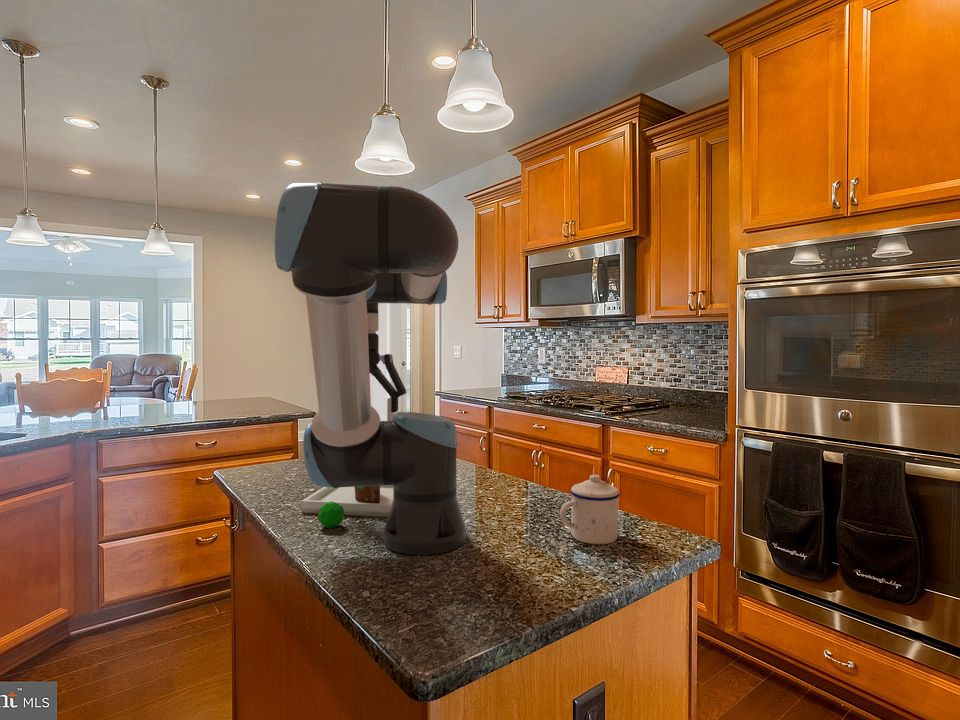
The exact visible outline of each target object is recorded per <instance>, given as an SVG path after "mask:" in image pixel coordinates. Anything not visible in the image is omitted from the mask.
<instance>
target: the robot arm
mask: <svg viewBox="0 0 960 720" xmlns="http://www.w3.org/2000/svg"><path fill="white" fill-rule="evenodd" d="M274 226H275V230H274V257H275V258H274V259H275V263H276V267H277V269H278V270H279V271H282V272H284V273H289V272H291V278H292V284H293V286H294V287H295V289H296V290H297V291H298V292H300V293H302V294H303V295H305V301H306V308H307V310H306V311H307V318H308V324H309V325H308V326H309V327H308V328H309V334H310V343H311V352H312V362H313V369H314V380H315V386H316V387H315V388H316V395H317V404H318V411H317V412H316V413H315V415H313V417H312V420H311V422H309V423H308V424H306V427H305V428H304V432H303V443H302V449H303V454H304V457H303V459H304V460H303V461H304V465H305V470H306V473H307V476H308V478H309V480H310V482H312V484H313V485H315V486H316V487H320V488H323V487H333V488H340V487H359V486H383V485H384V486H385V485H393V502H392V505H391V508H390V512H389V515H388V517H386V518H387V519H386V520H385V524H384V527H383V544H384V546H385V547H386V548H387V549H390V550H391V551H393V552H397V553H401V554H405V555H411V556H428V555H429V556H431V555H438V554H439V555H440V554H443V553H448V552H451V551H454V550H456V549H458V548H460V547H461V546H463V544H465V542H466V540H467V539H466V538H467V537H466V536H467V531H466V530H467V528H466V523H465V521H464V517H463V514H462V511H461V508H460V505H459V502H458V499H457V482H458V481H457V448H458V447H459V445H458V444H459V443H458V438H457V427H456V424H455V422H454V421H452V420H451V419H449V418H448V417H447V418H446V417H444V416H440V415H435V414H429V413H423V412H413V411H399V398H400V397H401V396H405V395H406V394H407V390H406V387H405V385H404V384H403V381H402V379H401V377H400V375H399V372H398V371H397V368H396V366H395V364H394V359H393V358H394V357H393V355H392V353H386V354H383V355H380V352H379V349H380V348H379V344H380V343H379V342H380V341H379V334H378V333H377V332H378V331H379V320H380V319H379V314H380V313H379V304H411V305H412V304H414V305H415V304H417V305H428V306H429V305H430V306H431V305H440V304H441V305H442V304H444V303H445V302H446V300H447V294H448V276H447V270H449V268H450V267H451V266H452V264H453V263H454V261H455V259H456V257H457V254H458V250H459V236H458V235H459V234H458V231H457V229H456V225H455V224H454V222H453V220H452V219H451V217H450V216H449V215H448V214H447V212H446V211H445V210H444V209H443V208H442V207H440V205H438V204H437V203H436V202H434V200H432V199H431V198H429V197H427V196H426V195H424V194H422V193H421V192H420V193H419V192H417V191H415V190H413V189H410V188H406V187H401V186H391V185H390V186H383V185H381V186H380V185H368V184H367V185H364V184H363V185H362V184H346V183H345V184H343V183H331V182H330V183H329V182H327V183H326V182H322V181H317V182H294V183H291V184H289V185H288V186H286V187H285V188H284V190H283V192H282V193H281V196H280V198H279V203H278V206H277V212H276V219H275V225H274ZM380 361H381V363H382V364H383V365H385V368H386V371H387V373H388V375H389V377H390V379H391V381H392V383H393V385H392V383H391V382H390V381H389V380H388V378H387V377H386V376H385V375H384V374H383V372H382V370H381V368H380V367H378V365H379V363H380ZM371 375H372V376H373V377H374V378H375V380H377V382H378V383H379V384H380V386H381V387H382V388H383V389H384V390H385V392H386V393H387V395H388V396H389V397H387V400H386V403H387V404H386V405H387V406H386V408H387V409H386V416H387V417H386V420H381V418H380V414H379V412H378V411H377V410H376V409H375V408H374V407H373V406H372V400H371V399H372V398H371V397H372V395H371V377H370V376H371Z"/></svg>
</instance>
